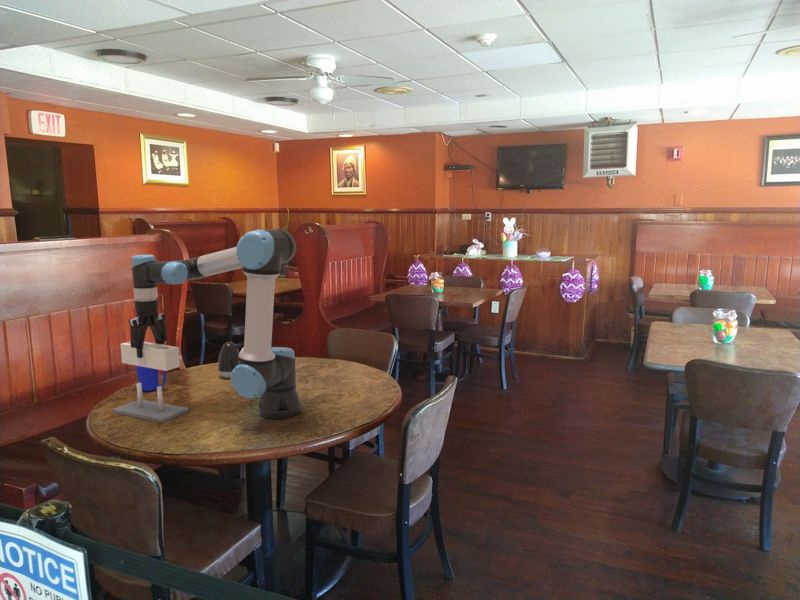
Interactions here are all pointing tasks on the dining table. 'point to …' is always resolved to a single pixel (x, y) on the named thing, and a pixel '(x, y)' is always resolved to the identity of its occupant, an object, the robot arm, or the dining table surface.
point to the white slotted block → (152, 356)
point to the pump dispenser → (228, 359)
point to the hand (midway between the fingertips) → (150, 363)
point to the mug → (149, 378)
